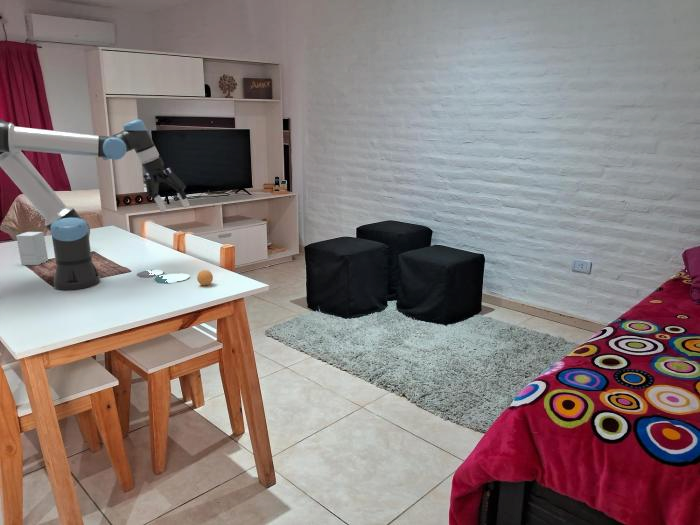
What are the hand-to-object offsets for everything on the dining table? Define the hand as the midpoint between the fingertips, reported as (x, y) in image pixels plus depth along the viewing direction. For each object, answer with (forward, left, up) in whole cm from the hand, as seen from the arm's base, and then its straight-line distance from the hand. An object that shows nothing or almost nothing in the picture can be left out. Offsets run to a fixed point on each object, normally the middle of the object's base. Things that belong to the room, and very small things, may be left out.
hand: (175, 209), depth 217 cm
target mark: (-17, -14, -23) cm, 31 cm away
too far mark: (-17, -2, -23) cm, 28 cm away
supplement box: (-30, +53, -23) cm, 65 cm away
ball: (-17, -31, -20) cm, 40 cm away
